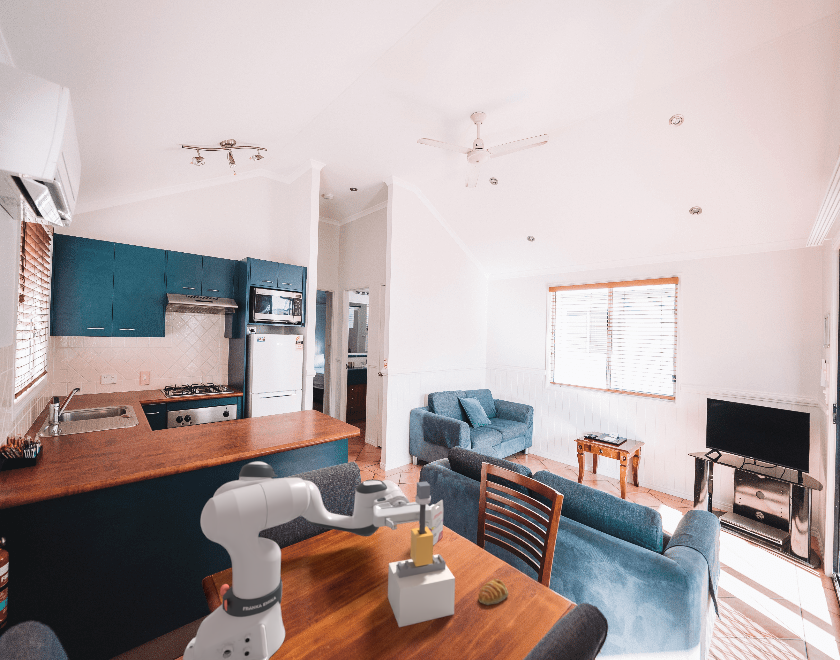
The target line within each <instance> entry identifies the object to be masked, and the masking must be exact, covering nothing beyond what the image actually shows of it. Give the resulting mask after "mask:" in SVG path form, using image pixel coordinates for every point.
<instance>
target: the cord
mask: <svg viewBox="0 0 840 660" xmlns="http://www.w3.org/2000/svg"><path fill="white" fill-rule="evenodd" d="M431 499H432V497H431V484H430V483H428V481H417V482H416V494H415V500H414V502H416V503H418V504H420V525H418V526H419V527H418V528H419V534H425V510H426V504H428V505H429V504H430V503H431Z"/></svg>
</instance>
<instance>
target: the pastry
mask: <svg viewBox="0 0 840 660" xmlns="http://www.w3.org/2000/svg"><path fill="white" fill-rule="evenodd" d="M505 584H506V583H505V582H503V580H502V579H498V578H493V579H492V580H489V581H488V582H485V584H483V586H482V587H481V589H480V591H479V593H478V601H479V602H480V603H481V604H483V605H485V606H490V605H495V604H499V603H501V602H503V601H505V600H506V598H508V596H509V591H508V588H507V587H506V585H505Z"/></svg>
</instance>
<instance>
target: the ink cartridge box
mask: <svg viewBox="0 0 840 660" xmlns="http://www.w3.org/2000/svg"><path fill="white" fill-rule="evenodd" d="M429 506H430V507H431V508H432V518H431V519H430V520H425V527H428V528H429V530H430V531H431V533H432V534H433V546H435V545H436V544H437V543H438V542H440V540H441V539H442V538H443V537H444V500H443V499H441V500H440V501H437V503H434V504H431V505H429Z"/></svg>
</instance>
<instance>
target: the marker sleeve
mask: <svg viewBox="0 0 840 660" xmlns="http://www.w3.org/2000/svg"><path fill="white" fill-rule="evenodd" d="M433 553H434V545H433V534H432V533H431V531H430V530H429V528H428V527H425V534H419V527H415V528H410V554H409V555H410V559H412V560H413V562H414V564H415V566H421V565H427V564H432V563H433V555H434V554H433Z"/></svg>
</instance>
